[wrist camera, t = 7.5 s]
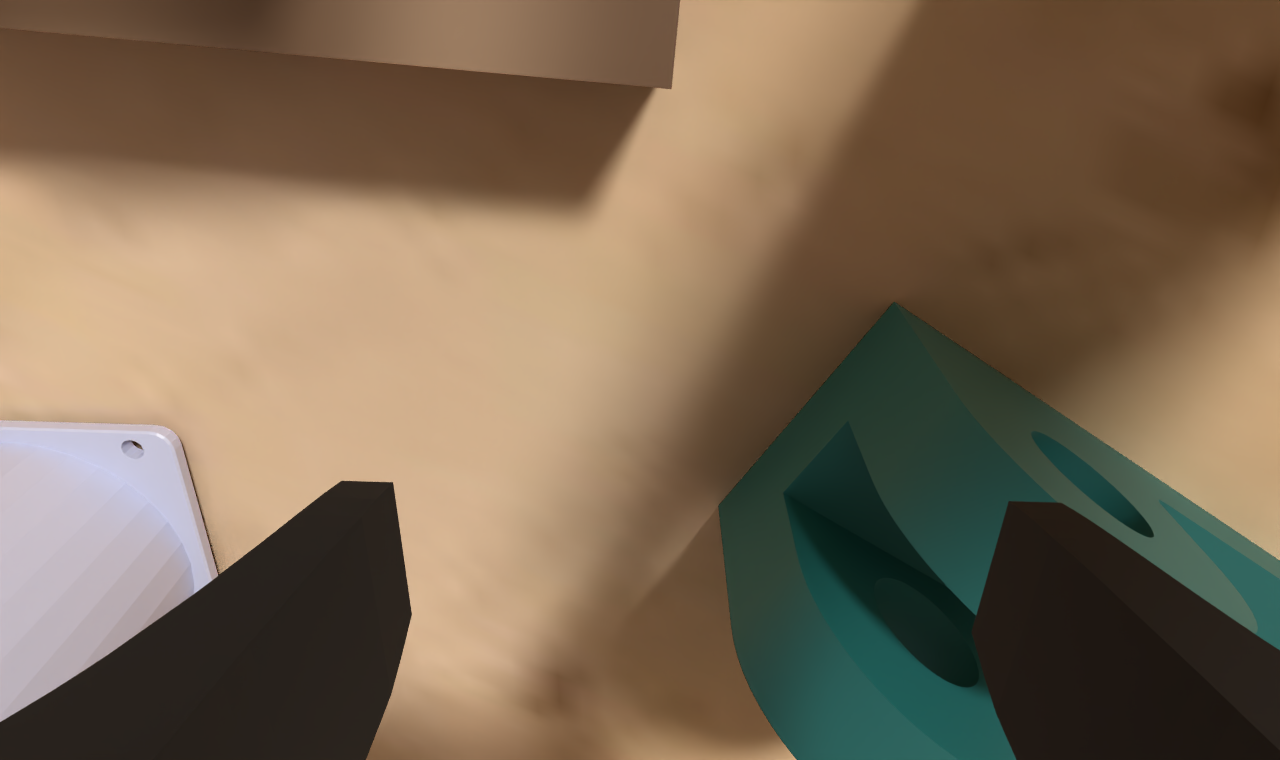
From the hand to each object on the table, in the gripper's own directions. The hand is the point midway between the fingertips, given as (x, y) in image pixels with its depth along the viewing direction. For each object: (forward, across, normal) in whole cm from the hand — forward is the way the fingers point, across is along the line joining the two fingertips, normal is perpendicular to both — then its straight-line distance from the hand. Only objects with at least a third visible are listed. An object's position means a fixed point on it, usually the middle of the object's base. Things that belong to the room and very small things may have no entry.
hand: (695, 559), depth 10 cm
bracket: (+10, -11, +8) cm, 17 cm away
